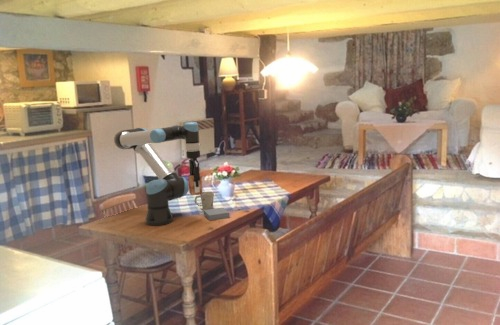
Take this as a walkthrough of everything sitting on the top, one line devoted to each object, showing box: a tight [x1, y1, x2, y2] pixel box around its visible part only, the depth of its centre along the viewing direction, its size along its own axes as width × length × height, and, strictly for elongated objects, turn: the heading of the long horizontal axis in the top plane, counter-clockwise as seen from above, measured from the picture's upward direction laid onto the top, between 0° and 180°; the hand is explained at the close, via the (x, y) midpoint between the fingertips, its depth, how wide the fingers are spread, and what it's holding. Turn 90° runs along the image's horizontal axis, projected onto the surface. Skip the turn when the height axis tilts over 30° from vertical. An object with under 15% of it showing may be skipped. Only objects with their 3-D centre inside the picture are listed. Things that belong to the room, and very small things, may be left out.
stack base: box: [203, 207, 231, 221], centre depth 274 cm, size 12×12×3 cm
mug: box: [194, 191, 215, 211], centre depth 291 cm, size 8×13×10 cm, turn 78°
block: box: [187, 175, 203, 196], centre depth 265 cm, size 6×6×10 cm
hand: (195, 191), depth 266 cm, fingers closed on block, 6 cm apart
